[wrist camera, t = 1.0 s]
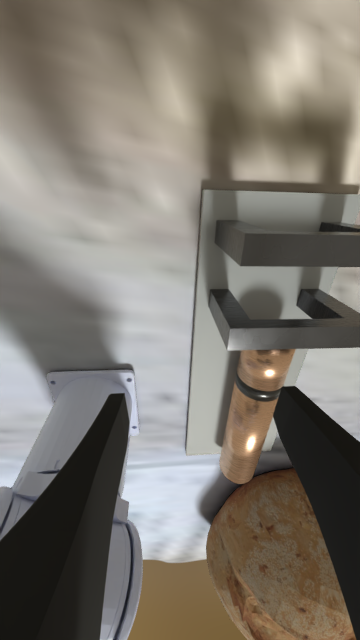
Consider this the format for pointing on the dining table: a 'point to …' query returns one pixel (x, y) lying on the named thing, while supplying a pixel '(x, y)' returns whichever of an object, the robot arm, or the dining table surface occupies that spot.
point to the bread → (275, 564)
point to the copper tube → (252, 409)
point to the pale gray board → (249, 296)
